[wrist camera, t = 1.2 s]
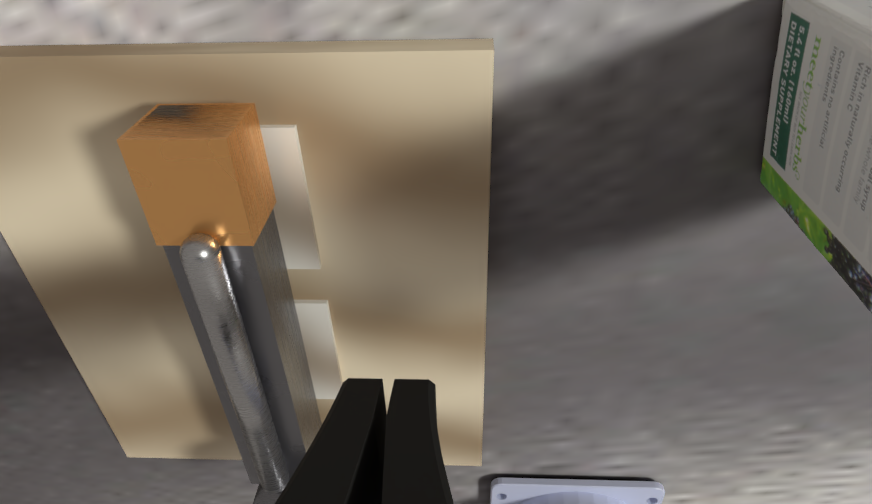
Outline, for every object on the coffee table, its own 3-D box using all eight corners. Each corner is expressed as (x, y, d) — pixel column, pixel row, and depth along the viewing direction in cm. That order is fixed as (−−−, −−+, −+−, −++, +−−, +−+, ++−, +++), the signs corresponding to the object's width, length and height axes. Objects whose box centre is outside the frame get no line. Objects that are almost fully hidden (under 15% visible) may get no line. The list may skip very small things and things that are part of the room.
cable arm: (338, 453, 25) (317, 555, 22) (280, 452, 25) (249, 553, 22) (263, 91, 16) (203, 167, 12) (170, 92, 16) (84, 168, 12)
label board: (481, 446, 26) (481, 472, 25) (137, 438, 27) (124, 462, 26) (492, 38, 16) (494, 53, 15) (-70, 46, 17) (-106, 61, 16)
